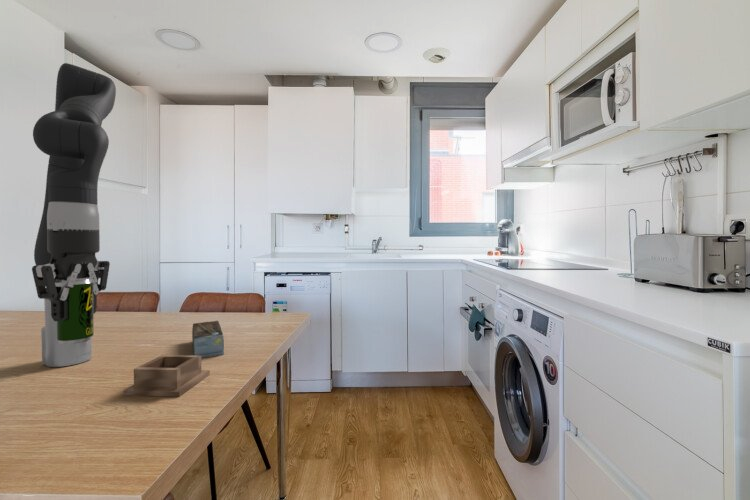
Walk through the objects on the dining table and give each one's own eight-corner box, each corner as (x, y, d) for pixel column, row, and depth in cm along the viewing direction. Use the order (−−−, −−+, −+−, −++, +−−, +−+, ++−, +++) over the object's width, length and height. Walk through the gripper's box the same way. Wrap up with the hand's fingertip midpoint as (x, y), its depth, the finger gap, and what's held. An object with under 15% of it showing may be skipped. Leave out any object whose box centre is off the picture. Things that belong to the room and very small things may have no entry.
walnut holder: (123, 395, 74) (123, 371, 74) (161, 373, 86) (161, 353, 85) (179, 396, 73) (179, 372, 73) (209, 374, 85) (209, 353, 85)
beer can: (53, 346, 64) (52, 279, 63) (59, 339, 68) (59, 276, 68) (92, 342, 67) (91, 278, 66) (95, 335, 71) (94, 275, 71)
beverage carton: (192, 359, 96) (192, 335, 96) (192, 342, 113) (192, 321, 113) (224, 355, 100) (224, 332, 100) (219, 339, 117) (219, 319, 117)
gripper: (88, 228, 74) (89, 309, 75) (14, 226, 60) (16, 326, 60) (122, 229, 74) (123, 310, 74) (56, 226, 59) (57, 327, 60)
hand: (75, 316), depth 67 cm, fingers closed on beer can, 5 cm apart
